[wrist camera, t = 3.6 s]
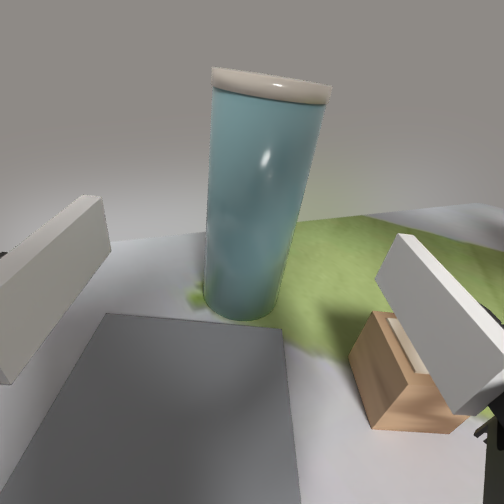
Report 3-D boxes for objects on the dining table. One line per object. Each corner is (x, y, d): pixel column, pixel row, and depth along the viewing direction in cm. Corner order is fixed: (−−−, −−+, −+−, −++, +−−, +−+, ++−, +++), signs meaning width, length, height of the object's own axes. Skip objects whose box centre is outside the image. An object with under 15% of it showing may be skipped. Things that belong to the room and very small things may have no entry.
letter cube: (410, 362, 25) (445, 316, 22) (448, 434, 20) (501, 389, 17) (347, 357, 25) (373, 309, 22) (371, 429, 20) (409, 382, 17)
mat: (280, 332, 26) (281, 329, 26) (310, 607, 13) (312, 606, 13) (106, 317, 25) (106, 313, 25) (-57, 602, 12) (-63, 600, 11)
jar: (275, 272, 34) (319, 82, 22) (281, 325, 27) (347, 90, 16) (207, 265, 33) (218, 66, 22) (196, 317, 26) (203, 67, 15)
